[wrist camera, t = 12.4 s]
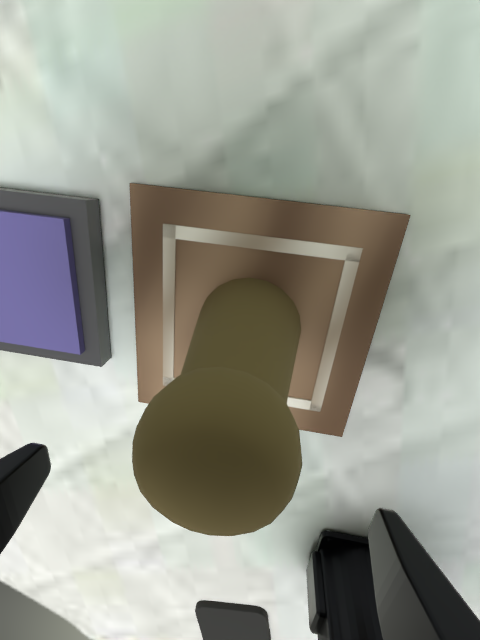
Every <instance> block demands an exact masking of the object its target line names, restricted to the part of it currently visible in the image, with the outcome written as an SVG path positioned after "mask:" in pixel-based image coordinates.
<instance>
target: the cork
mask: <svg viewBox="0 0 480 640" xmlns="http://www.w3.org/2000/svg"><path fill="white" fill-rule="evenodd" d="M300 334H301V323H300V315H299V313H298V310H297V308H296V306H295V304H294V302H293V300H292V299H291V298H290V297H289V296H288V295H287V294H286V293H285V292H284V291H283V290H282V289H281V288H279V287H277V286H275V285H274V284H272V283H270V282H268V281H265V280H260V279H255V278H241V279H233V280H231V281H229V282H226V283H224V284H222V285H220V286H218V287H217V288H216V289H215V290H214V291H213V292H212V293H211V294H210V295H209V296H208V297H207V298H206V300H205V302H204V304H203V306H202V308H201V310H200V314H199V317H198V320H197V323H196V326H195V330H194V333H193V336H192V339H191V342H190V346H189V349H188V352H187V355H186V358H185V362H184V365H183V368H182V371H181V375H179V376H178V377H177V378H175V379H174V380H173V381H172V382H170V383H169V384H168V385H167V386H166V387H164V388H163V389H162V390H161V391H160V392H159V393H157V394H156V395H155V396H154V397H153V398H152V400H151V401H150V403H149V404H148V406H147V407H146V409H145V411H144V413H143V415H142V417H141V419H140V421H139V423H138V425H137V428H136V431H135V435H134V439H133V452H132V462H133V470H134V476H135V479H136V481H137V484H138V486H139V489H140V492H141V493H142V494H143V496H144V497H145V498H146V499H147V501H148V502H149V503H150V504H151V506H152V507H153V508H154V509H156V510H157V511H158V512H160V513H161V514H162V515H164V516H165V517H166V518H168V519H169V520H170V521H172V522H173V523H175V524H178V525H180V526H182V527H184V528H186V529H188V530H190V531H194V532H198V533H202V534H207V535H216V536H235V535H240V534H245V533H251V532H254V531H257V530H259V529H261V528H263V527H265V526H267V525H269V524H271V523H272V522H273V521H274V520H275V518H276V517H277V516H278V515H279V514H280V513H281V512H282V511H283V510H284V509H285V507H286V506H287V505H288V503H289V502H290V500H291V499H292V497H293V494H294V492H295V489H296V486H297V483H298V480H299V476H300V472H301V468H302V456H301V445H300V435H299V428H298V426H297V424H296V421H295V419H294V417H293V415H292V413H291V411H290V409H289V407H288V405H287V399H288V394H289V389H290V384H291V379H292V374H293V369H294V364H295V359H296V354H297V349H298V344H299V339H300Z"/></svg>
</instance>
